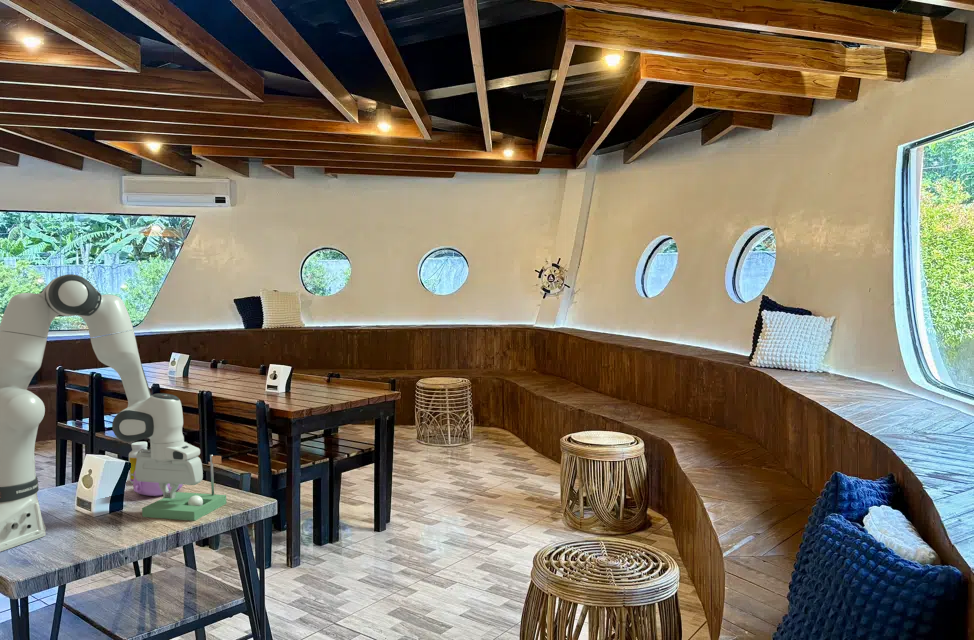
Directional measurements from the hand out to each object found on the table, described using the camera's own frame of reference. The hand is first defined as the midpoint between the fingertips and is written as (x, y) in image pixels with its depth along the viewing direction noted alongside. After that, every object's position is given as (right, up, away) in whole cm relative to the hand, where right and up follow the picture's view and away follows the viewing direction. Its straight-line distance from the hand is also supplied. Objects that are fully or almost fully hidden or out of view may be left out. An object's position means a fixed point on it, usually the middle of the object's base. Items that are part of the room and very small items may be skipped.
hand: (169, 497), depth 210 cm
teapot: (-10, -3, +19) cm, 21 cm away
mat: (+5, -3, 0) cm, 6 cm away
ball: (+8, -1, -1) cm, 8 cm away
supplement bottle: (-22, -2, +29) cm, 36 cm away
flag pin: (+12, 0, +5) cm, 13 cm away
